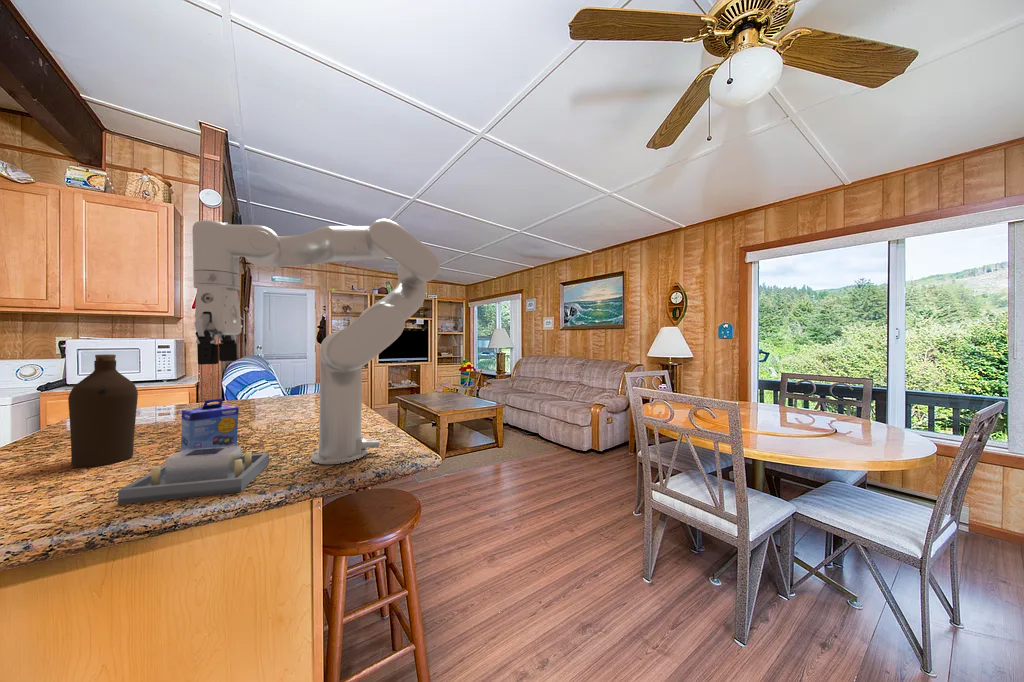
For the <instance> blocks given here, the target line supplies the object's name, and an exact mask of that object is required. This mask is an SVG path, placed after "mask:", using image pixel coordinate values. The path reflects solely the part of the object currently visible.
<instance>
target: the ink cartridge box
mask: <svg viewBox="0 0 1024 682" xmlns="http://www.w3.org/2000/svg"><path fill="white" fill-rule="evenodd" d="M223 401H224V399H223V398H221V397H220V398H215V399H214V398H213V399H206V400H205V401H204V402H203V405H202V406H201V407H197V408H196V407H195V408H189V409H182V410H181V434H180V435H181V436H180V451H182V450H184V449H199V448H214V447H230V446H238V427H239V426H238V425H239V412H240V411H239V409H240V407H238V406H236V405H232V404H223ZM214 402H216V403H214ZM211 403H212V404H211Z"/></svg>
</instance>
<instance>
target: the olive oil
mask: <svg viewBox="0 0 1024 682" xmlns="http://www.w3.org/2000/svg"><path fill="white" fill-rule="evenodd" d="M116 357H117V356H116V354H109V353H108V354H105V353H104V354H95V360H94V361H93V362H94V363H93V365H94V370H93V372H91V373H90V374H89V375H87V376H86V377H85V378H83V379H82V380H80V381H79V382H78V383H76V384H75V385H74V386H73V387H72V388H71V390H70V393H69V395H68V397H67V398H68V399H67V401H68V402H67V403H68V414H69V415H68V417H69V429H70V430H69V433H70V455H71V456H70V458H71V462H70V463H71V467H75V468H91V467H99V466H100V467H101V466H105V465H110V464H115V463H120V462H122V461H126V460H129V459H130V458H132V457H133V456H134V446H135V445H134V444H135V428H136V417H137V408H138V407H137V406H138V400H139V399H138V397H139V391H138V388H137V387H136V385H135V383H134V382H133V381H131V380H130V379H129V378H127V377H126V376H125V375H123V374H122V373H120V372H119V371H118V370H117V360H116Z"/></svg>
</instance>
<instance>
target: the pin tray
mask: <svg viewBox="0 0 1024 682" xmlns="http://www.w3.org/2000/svg"><path fill="white" fill-rule="evenodd" d="M269 464H270V452H268V453H267V452H266V453H254V454H253V453H252V451H246V452H244V454H241V459H238V460H235V474H233V475H232V476H231V477H230V478H227V479H216V480H206V481H195V482H184V483H173V484H165V468H166V463H165V464H164V465H162V466H161V465H154V466H152V467H151V472H149V473H148V474H145V475H143V476H142V477H140V478H138V479H136V480H135V481H133V482H130V483H129V484H127V485H126V486H123V487H122V488H120V489H118V490H117V506H118V505H120V504H121V505H127V504H128V505H129V504H139V503H148V502H156V501H157V502H158V501H168V500H176V499H187V498H195V497H198V498H199V497H203V496H204V497H205V496H215V495H226V494H236V493H242V492H243V491H244V490H245V489H246V488H247V487H248V486H249V485H250V484H249V483H250V482H251V481H252V480H253V481H254V480H255V479H256V478H257V477H258V475H259V474H261V472H263V470H264V469H266V467H268V465H269ZM253 481H252V482H253ZM252 482H251V483H252ZM248 484H249V485H248ZM247 485H248V486H247Z"/></svg>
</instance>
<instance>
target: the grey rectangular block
mask: <svg viewBox="0 0 1024 682" xmlns="http://www.w3.org/2000/svg"><path fill="white" fill-rule="evenodd" d="M241 455H242V446H241V445H237V446H230V447H214V448H199V449H184V450H182V451H181V450H180V451H178V452H176V453H174V454H172V455H170V456H168V457H167V458H165V464H166V468H165V484H173V483H184V482H195V481H206V480H216V479H227V478H230V477H231V476H232V475H233V474H235V460H238V459H241Z"/></svg>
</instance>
